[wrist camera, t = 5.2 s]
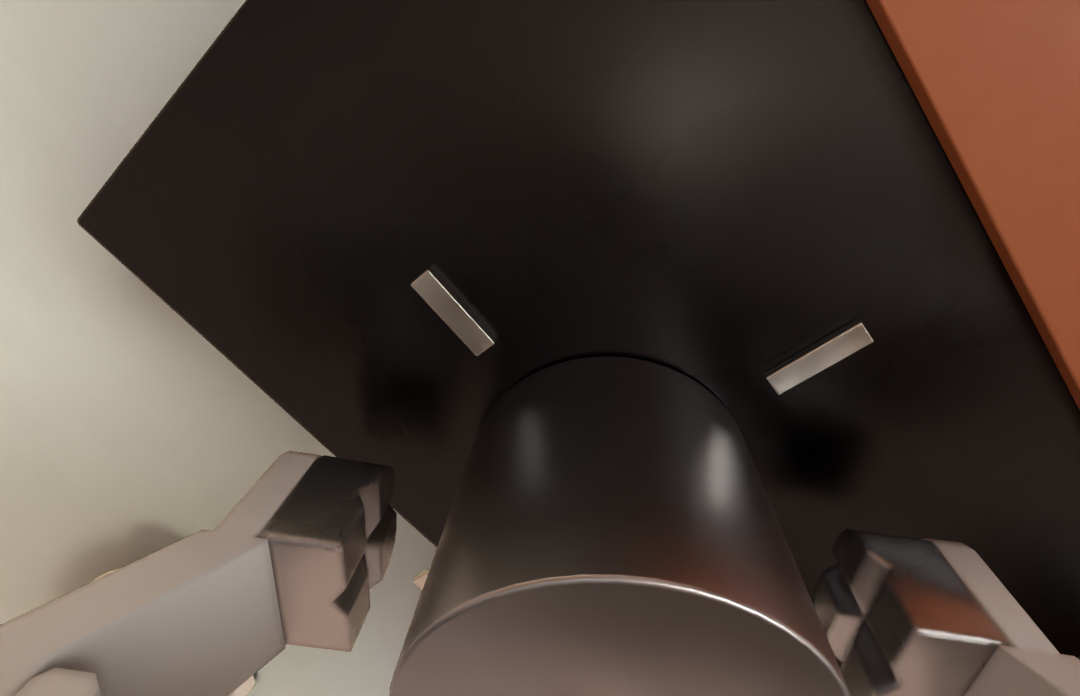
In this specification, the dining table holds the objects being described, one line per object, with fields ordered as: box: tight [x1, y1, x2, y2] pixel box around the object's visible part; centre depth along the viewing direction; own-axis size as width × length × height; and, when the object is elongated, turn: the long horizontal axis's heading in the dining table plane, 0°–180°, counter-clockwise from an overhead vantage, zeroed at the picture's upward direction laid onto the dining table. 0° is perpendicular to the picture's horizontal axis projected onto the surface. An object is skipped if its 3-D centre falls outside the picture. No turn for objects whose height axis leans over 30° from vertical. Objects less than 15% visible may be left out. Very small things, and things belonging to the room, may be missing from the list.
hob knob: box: [389, 356, 851, 696], centre depth 7 cm, size 4×4×4 cm
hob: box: [77, 0, 1080, 667], centre depth 8 cm, size 19×16×3 cm
